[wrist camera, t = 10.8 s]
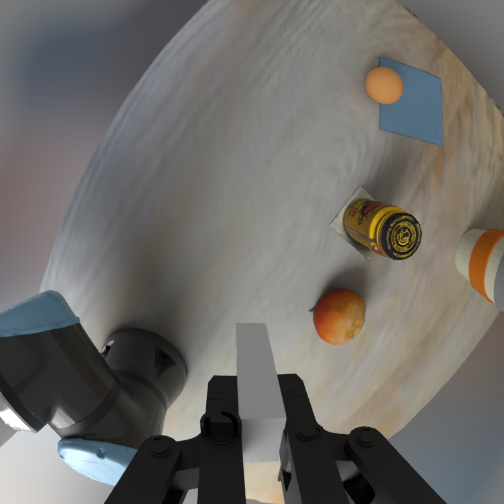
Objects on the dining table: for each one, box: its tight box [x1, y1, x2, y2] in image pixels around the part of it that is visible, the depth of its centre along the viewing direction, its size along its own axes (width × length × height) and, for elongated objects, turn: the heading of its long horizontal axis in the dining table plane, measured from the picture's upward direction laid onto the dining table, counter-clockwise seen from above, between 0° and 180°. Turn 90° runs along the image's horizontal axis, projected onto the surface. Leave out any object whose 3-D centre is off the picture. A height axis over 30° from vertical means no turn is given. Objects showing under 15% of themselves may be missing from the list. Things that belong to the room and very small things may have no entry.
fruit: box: [310, 288, 366, 345], centre depth 40 cm, size 8×8×8 cm
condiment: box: [330, 186, 422, 261], centre depth 34 cm, size 7×8×12 cm
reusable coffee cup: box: [455, 229, 504, 312], centre depth 35 cm, size 13×13×15 cm
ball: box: [365, 67, 403, 104], centre depth 32 cm, size 6×6×6 cm
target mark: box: [379, 57, 442, 146], centre depth 35 cm, size 12×12×1 cm
